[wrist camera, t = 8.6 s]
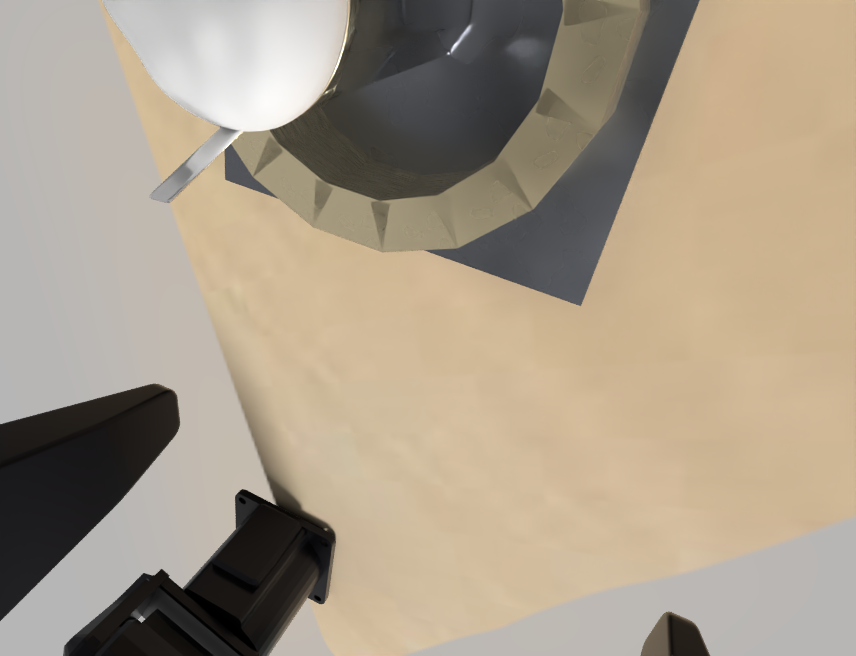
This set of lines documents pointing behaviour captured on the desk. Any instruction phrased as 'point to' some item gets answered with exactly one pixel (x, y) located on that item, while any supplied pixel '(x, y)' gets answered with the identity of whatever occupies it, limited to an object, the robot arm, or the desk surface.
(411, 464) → the desk surface
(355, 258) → the desk surface
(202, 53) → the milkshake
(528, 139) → the collar station
